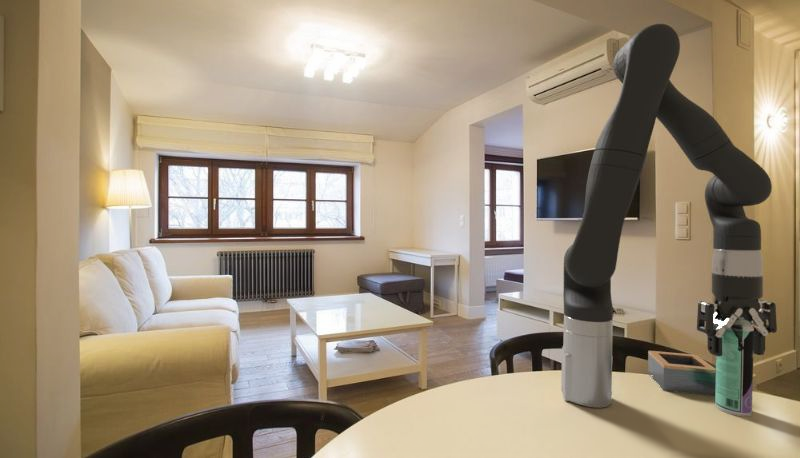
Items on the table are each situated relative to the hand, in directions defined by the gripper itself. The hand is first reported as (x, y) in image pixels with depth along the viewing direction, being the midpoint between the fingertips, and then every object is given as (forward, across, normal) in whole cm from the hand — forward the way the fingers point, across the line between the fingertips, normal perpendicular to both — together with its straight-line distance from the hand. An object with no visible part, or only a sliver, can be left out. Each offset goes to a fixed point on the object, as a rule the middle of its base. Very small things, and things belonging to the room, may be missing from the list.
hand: (736, 354), depth 75 cm
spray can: (+11, 0, 0) cm, 11 cm away
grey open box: (+11, -1, +12) cm, 17 cm away
